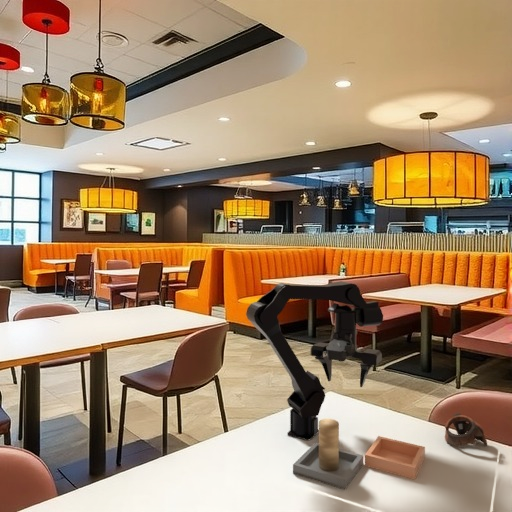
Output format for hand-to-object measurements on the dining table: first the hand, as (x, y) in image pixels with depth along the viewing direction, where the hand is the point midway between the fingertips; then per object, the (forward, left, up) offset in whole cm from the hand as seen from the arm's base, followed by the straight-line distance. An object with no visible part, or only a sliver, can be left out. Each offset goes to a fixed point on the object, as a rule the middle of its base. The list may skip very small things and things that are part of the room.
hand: (345, 383), depth 122 cm
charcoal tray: (+5, -24, -12) cm, 27 cm away
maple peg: (+5, -24, -11) cm, 27 cm away
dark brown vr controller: (+30, +6, -12) cm, 33 cm away
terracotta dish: (+17, -13, -12) cm, 25 cm away
